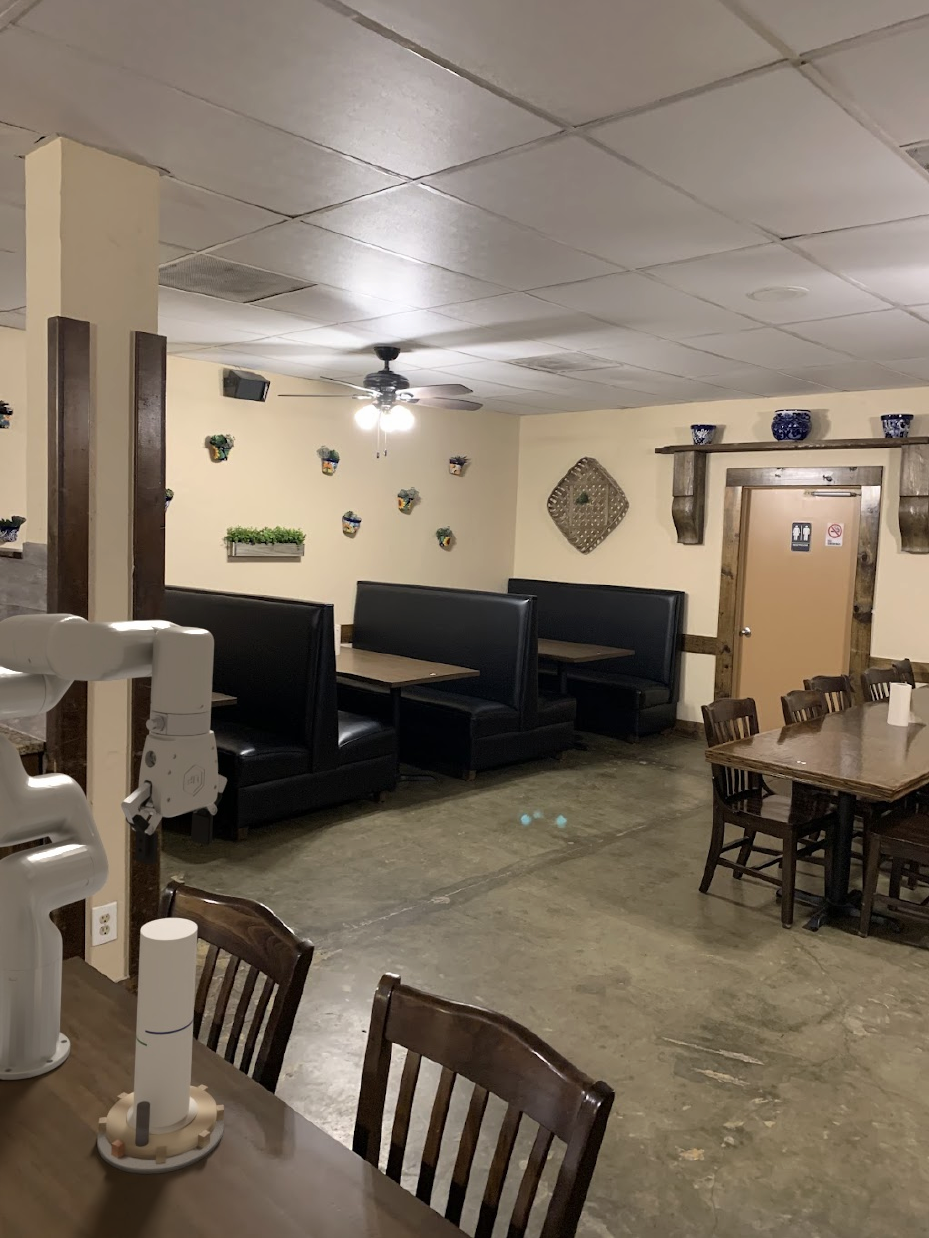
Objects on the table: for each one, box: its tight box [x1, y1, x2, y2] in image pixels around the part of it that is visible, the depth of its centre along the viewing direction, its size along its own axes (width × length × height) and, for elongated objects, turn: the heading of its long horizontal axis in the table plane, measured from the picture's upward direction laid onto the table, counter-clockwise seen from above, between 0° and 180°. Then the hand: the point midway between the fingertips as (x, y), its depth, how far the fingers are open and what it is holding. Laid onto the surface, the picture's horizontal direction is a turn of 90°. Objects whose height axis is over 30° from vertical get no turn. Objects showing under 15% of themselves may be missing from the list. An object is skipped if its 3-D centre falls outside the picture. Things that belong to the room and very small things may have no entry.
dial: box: [97, 1083, 225, 1163], centre depth 125 cm, size 15×15×6 cm
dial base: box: [96, 1118, 225, 1175], centre depth 126 cm, size 16×16×1 cm
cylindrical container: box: [133, 917, 198, 1127], centre depth 125 cm, size 7×7×25 cm
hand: (174, 852), depth 123 cm, fingers open, 9 cm apart
